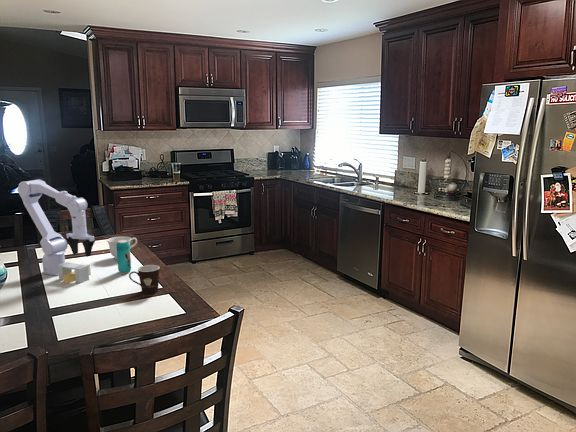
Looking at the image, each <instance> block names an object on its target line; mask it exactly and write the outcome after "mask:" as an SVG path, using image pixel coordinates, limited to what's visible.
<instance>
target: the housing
mask: <svg viewBox="0 0 576 432" xmlns="http://www.w3.org/2000/svg"><path fill="white" fill-rule="evenodd" d="M72 270H74V271H75V278H76V280H75V283H76V284H77V283H78V284H81V283H84V282H87V281H89V280H90V277H89V276H90V275H89V273H88V266H87V265H81V263H74V262H68V261H67V262H66V261H65V263H63V264H60V265H58V274H59V275H58V280H60V281H63V275H66V274H68V273H71V272H73V271H72Z"/></svg>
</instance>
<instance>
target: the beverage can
mask: <svg viewBox="0 0 576 432" xmlns="http://www.w3.org/2000/svg"><path fill="white" fill-rule="evenodd" d="M116 246H117V269H118V272H119V274H121V275H122V274H123V275H125V274H130V273H131V270H132V261H131V260H132V258H131V249H130V246H131V243H130V244H129V240H119V241H117V244H116Z"/></svg>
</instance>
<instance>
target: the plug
mask: <svg viewBox="0 0 576 432" xmlns="http://www.w3.org/2000/svg"><path fill="white" fill-rule="evenodd" d="M80 264H81V265H87V266H88V273H89V276H91V275H92V274H91V273H92V272H91V264H89V263H85V262H84V263H83V262H81V263H80ZM62 281H63V283H65V284H66V283H67V284H69V283H72V282H76V278H75V270H74V271H72V272H71V273H68V274H66V275H63V280H62Z"/></svg>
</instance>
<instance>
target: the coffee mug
mask: <svg viewBox="0 0 576 432" xmlns="http://www.w3.org/2000/svg"><path fill="white" fill-rule="evenodd" d="M128 274H129V275H128V277H129V280H130V281H132V282H133V283H135V284H137V285H139V287H140V288H141V293H142V294H144V295H153V294H156V293H158V291H159V285H160V284H159V281H160V266H159V265H156V264H147V265H143V266H140V267H139V266H138V268H137V271H130V272H129V273H128ZM133 274H137V276H138V277H139V282H140V283H139V282H138V281H136V280H134V278H132V276H131V275H133Z"/></svg>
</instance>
